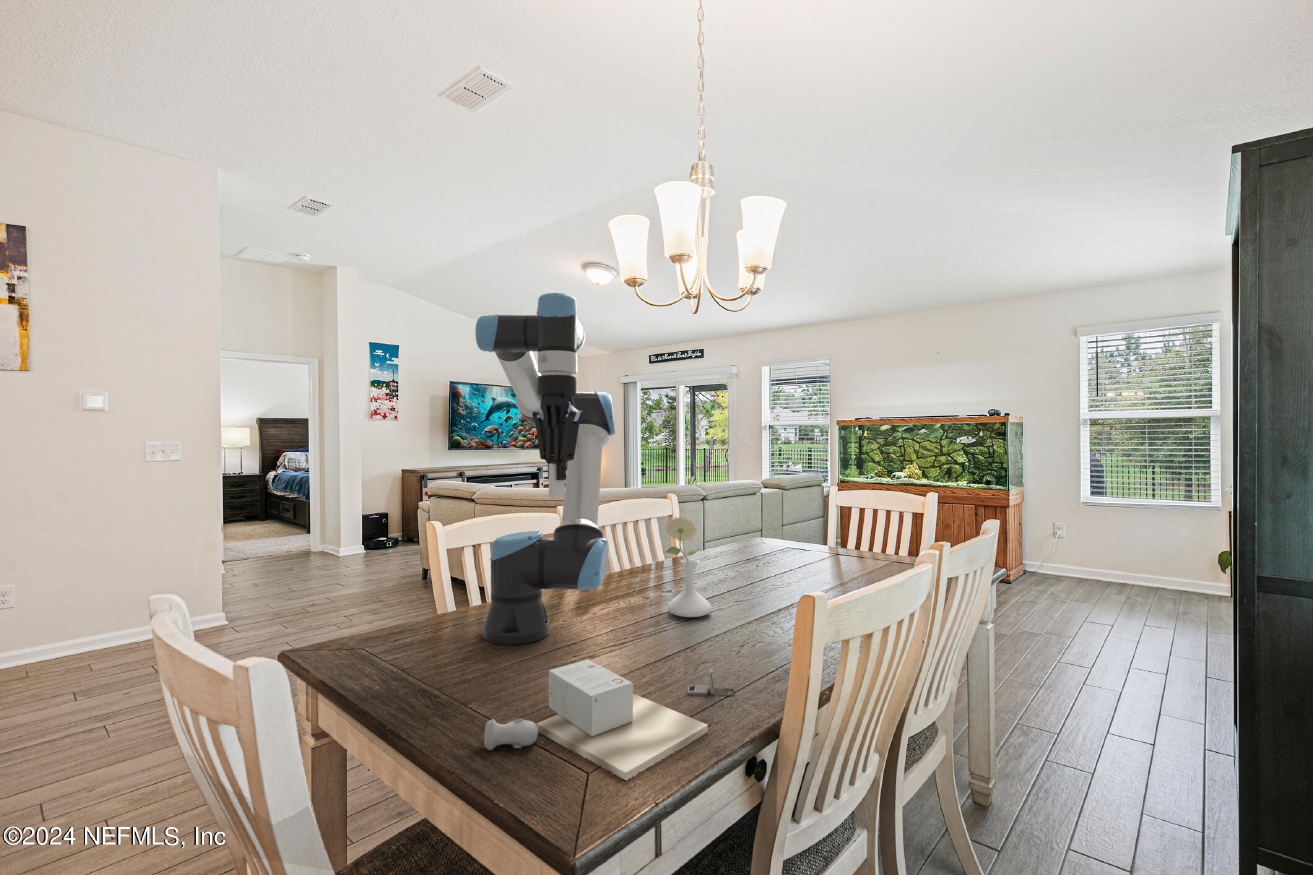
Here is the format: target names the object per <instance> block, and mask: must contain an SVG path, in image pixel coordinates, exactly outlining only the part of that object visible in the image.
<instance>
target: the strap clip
mask: <svg viewBox="0 0 1313 875" xmlns="http://www.w3.org/2000/svg"><path fill="white" fill-rule="evenodd" d="M712 673H713V674H714V669H711V668H709V670H708V676H709V686H708V685H706V684H705V685H702V684H691V685H688V686H687V692H686V693H687V695H688V696H708V695H710V694H711V695H712V696H715V697H727V696H730V697H735V694H736V692H735V689H733V688H728V687H725V688H724V687H722V688H720V687H717V688H716V687H714V681H713V675H712ZM709 688H710V689H709ZM709 690H710V691H709ZM728 691H731V692H732V694H728V693H729V692H728ZM709 692H710V693H709Z"/></svg>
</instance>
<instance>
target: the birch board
mask: <svg viewBox="0 0 1313 875" xmlns="http://www.w3.org/2000/svg"><path fill="white" fill-rule="evenodd" d="M536 726H537V728H538V734H542V736H545V737H546V738H548V739H550V740H552V741H554V742H555V743H557V744H559V745H560V746H562V747H564V748H566V749H568V750H569V751H571V750H572V751H571V752H573V751H574V752H573V753H575V754H576V753H577V754H576V755H578V754H580V755H581V756H580V755H579V756H580V757H582V756H583V757H582V758H584V759H585V758H587V759H589V760H591V761H592V762H594V763H596V764H598V765H599V766H602V767H604V768H605V769H607V770H608V771H611V772H613V773H614V774H616V775H617V776H619V777H621V778H622V779H624V780H628V779H629V780H631V779H633V778H634V777H637V776H638V775H639V774H640V773H639V772H641V773H643V772H644V771H646V770H647V768H648V767H649V768H651V767H652V766H654V765H656V764H658V763H660V762H661V761H663V760H665V759H666V758H667V756H668V757H669V756H671V755H673V754H675V753H676V752H678V751H680V750H681V749H683V748H685V747H686V746H688V745H689V744H691V743H693V742H694V741H696V740H698V739H699V738H701V737H703V736H705V735H706V734H707V733H709V724H706V723H704V722H702V721H700V720H698V719H695V718H692V717H690V716H688V715H685V714H683V713H680V712H678V711H676V710H673V709H671V708H668V707H666V706H664V705H661V704H659V703H657V702H655V701H652V700H650V699H647V698H644V697H643V696H640V695H638V694H636V693H633V722H630V723H627V724H625V725H622V726H619V727H617V728H614V729H611V730H609V731H606V732H603V733H601V734H598V735H595V736H593V737H591V736H590V735H588V734H587V733H586V732H584V731H583V730H581V729H580V728H578V727H577V726H575V725H574V724H572V723H571V722H570V721H568V720H567V719H565V718H564V717H562V716H561V715H559V714H558V713H556V714H555V715H553V716H550V717H548V718H545V719H544V720H541V721H539V722H537V723H536ZM692 741H693V742H692ZM675 751H676V752H675ZM670 754H671V755H670ZM587 759H586V760H587ZM662 759H663V760H662ZM589 760H588V761H589ZM591 761H590V762H591ZM592 762H591V763H592ZM657 762H658V763H657ZM594 763H593V764H594ZM655 763H656V764H655ZM596 764H595V765H596ZM598 765H597V766H598ZM599 766H598V767H599ZM650 766H651V767H650ZM649 768H648V769H649ZM605 769H604V770H605ZM645 769H646V770H645ZM607 770H606V771H607ZM608 771H607V772H608ZM642 771H643V772H642ZM638 773H639V774H638ZM614 774H613V775H614ZM637 774H638V775H637ZM617 776H616V777H617ZM633 776H634V777H633ZM619 777H618V778H619ZM632 777H633V778H632ZM621 778H620V779H621ZM630 778H631V779H630ZM622 779H621V780H622ZM624 780H623V781H624ZM629 780H628V781H629Z"/></svg>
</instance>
